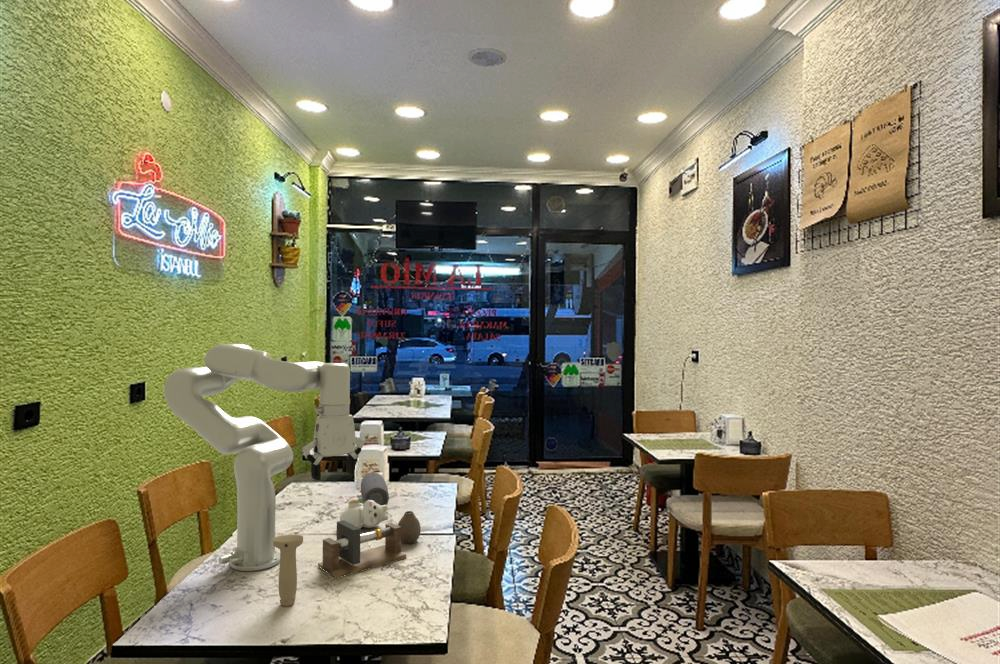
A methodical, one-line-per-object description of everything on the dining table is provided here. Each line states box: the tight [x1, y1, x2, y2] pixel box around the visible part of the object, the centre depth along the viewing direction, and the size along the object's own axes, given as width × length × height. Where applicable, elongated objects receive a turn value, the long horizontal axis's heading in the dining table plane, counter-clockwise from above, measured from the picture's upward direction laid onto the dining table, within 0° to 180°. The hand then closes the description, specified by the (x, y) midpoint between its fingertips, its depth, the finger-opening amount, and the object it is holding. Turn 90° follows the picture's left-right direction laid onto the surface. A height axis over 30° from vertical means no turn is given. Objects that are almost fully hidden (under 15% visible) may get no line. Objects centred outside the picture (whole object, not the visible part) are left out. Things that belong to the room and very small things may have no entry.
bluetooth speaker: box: [360, 471, 390, 506], centre depth 216 cm, size 23×9×10 cm, turn 15°
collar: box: [336, 520, 361, 565], centre depth 160 cm, size 2×9×9 cm, turn 43°
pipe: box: [334, 527, 393, 549], centre depth 163 cm, size 18×3×3 cm, turn 133°
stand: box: [317, 522, 407, 579], centre depth 163 cm, size 21×10×8 cm, turn 133°
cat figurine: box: [339, 498, 389, 529], centre depth 192 cm, size 10×8×15 cm
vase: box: [397, 510, 421, 545], centre depth 180 cm, size 7×7×9 cm
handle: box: [273, 534, 304, 608], centre depth 138 cm, size 5×6×15 cm
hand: (333, 476), depth 157 cm, fingers open, 9 cm apart
